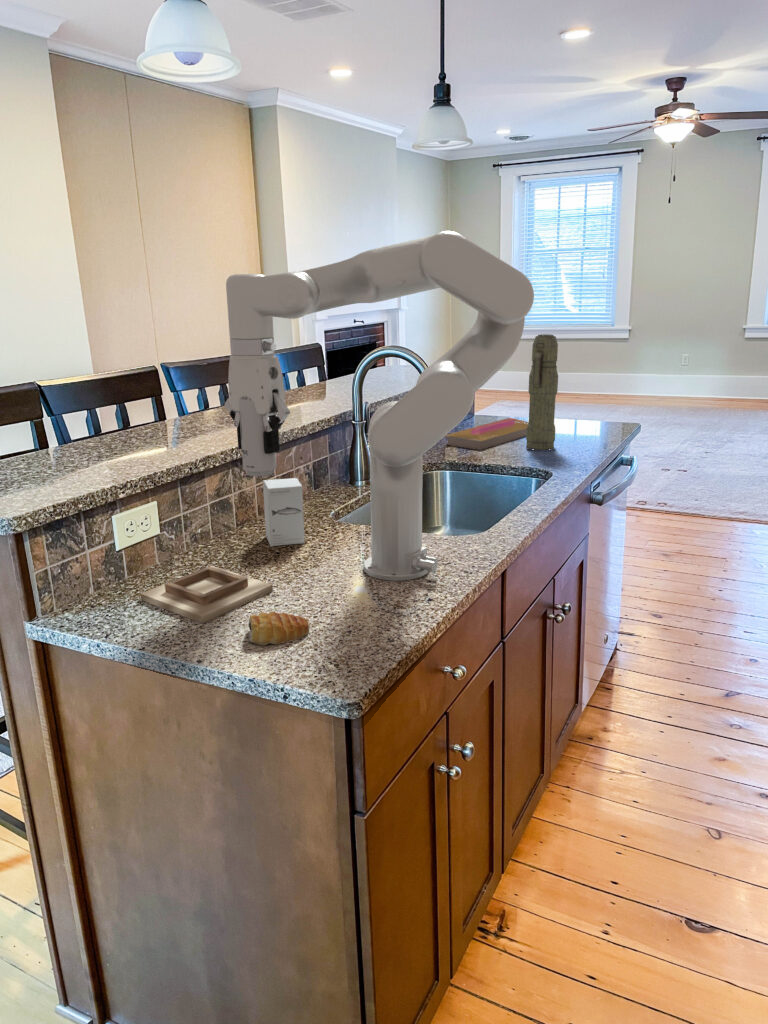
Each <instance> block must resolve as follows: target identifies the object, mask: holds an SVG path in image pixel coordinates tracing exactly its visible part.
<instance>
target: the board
mask: <svg viewBox="0 0 768 1024" xmlns="http://www.w3.org/2000/svg"><path fill="white" fill-rule="evenodd" d="M273 587H274V586H273V584H271V583H269V582H265V581H262V580H259V579H256V578H252V577H249V576H246V575H243V574H240V573H236V572H233V571H231V570H227V569H223V568H220V567H217V566H214V565H210V566H207V567H204V568H202V569H199V570H196V571H194V572H191V573H189V574H187V575H183V576H182V577H179V578H175V579H174V580H171V581H169V582H165V583H164V584H162V585H158V586H156V587H154V588H151V589H149V590H146V591H143V592H141V593H140V595H139V596H140V601H142V602H146V603H147V604H149V605H153V606H155V607H159V608H161V609H164V610H166V611H168V612H172V613H174V614H177V615H180V616H182V617H185V618H188V619H191V620H193V621H195V622H198V623H201V624H204V623H206V622H209V621H211V620H213V619H215V618H217V617H219V616H221V615H224V614H226V613H228V612H230V611H232V610H235V609H237V608H239V607H241V606H244V605H245V604H247V603H249V602H252V601H254V600H255V599H259V598H260V597H263V596H265V595H267V594H269V593H272V592H273V590H274V588H273Z"/></svg>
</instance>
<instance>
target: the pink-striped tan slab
mask: <svg viewBox="0 0 768 1024" xmlns="http://www.w3.org/2000/svg"><path fill="white" fill-rule="evenodd" d="M528 424H529V421H526V420H521V419H517V418H512V417H507V418H504V419H500V420H496V421H493V422H489V423H485V424H481V425H478V426H473V427H470V428H467V429H466V428H465V429H462V430H459V431H456V432H452V433H448V434H446V435H445V436H444V437H447V446H452V447H458V448H463V449H464V448H465V449H469V450H470V449H471V450H476V449H477V450H478V451H483V450H485V448H486V449H489V448H492V447H495V446H498V444H499V445H500V444H501V443H502V444H504V443H509V442H511V440H512V441H515V440H517V439H518V440H519V439H521V438H520V437H522V438H524V437H523V436H525V437H526V431H527V426H528ZM514 439H515V440H514ZM491 446H492V447H491ZM488 447H489V448H488Z"/></svg>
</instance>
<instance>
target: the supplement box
mask: <svg viewBox="0 0 768 1024" xmlns="http://www.w3.org/2000/svg"><path fill="white" fill-rule="evenodd" d="M262 489H263V491H262V492H263V506H264V507H263V509H264V523H265V525H264V526H265V537H266V539H267V541H268V544H269V546H270V547H271V548H273V547H277V546H285V545H296V544H299V545H300V544H305V541H306V540H305V539H306V538H305V521H304V520H305V519H304V496H303V492H304V491H303V485H302V483H301V482H300V481H299V479H298V478H297V477H292V478H276V479H265V480H263V479H262Z"/></svg>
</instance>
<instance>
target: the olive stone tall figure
mask: <svg viewBox="0 0 768 1024" xmlns="http://www.w3.org/2000/svg"><path fill="white" fill-rule="evenodd" d="M558 348H559V344H558V340H557V337H556V335H554V334H548V333H547V334H546V333H545V334H538V335H536V336H535V337H534V339H533V342H532V350H531V351H532V353H531V354H532V355H531V361H532V365H531V370H530V372H529V376H528V394H529V404H528V405H529V407H528V408H529V409H528V410H529V411H528V422H529V424H528V423H527V424H528V426H527V431H526V436H525V441H526V445H525V446H526V447H525V448H526V449H527V448H529V449H534V450H549V449H553V448H554V449H555V441H556V440H555V439H556V426H555V414H556V396H557V394H558V386H559V373H558V369H557V368H558V367H557V362H558V350H559V349H558ZM529 449H528V450H529ZM554 449H553V450H554ZM534 450H533V451H534ZM549 451H550V450H549Z"/></svg>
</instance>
